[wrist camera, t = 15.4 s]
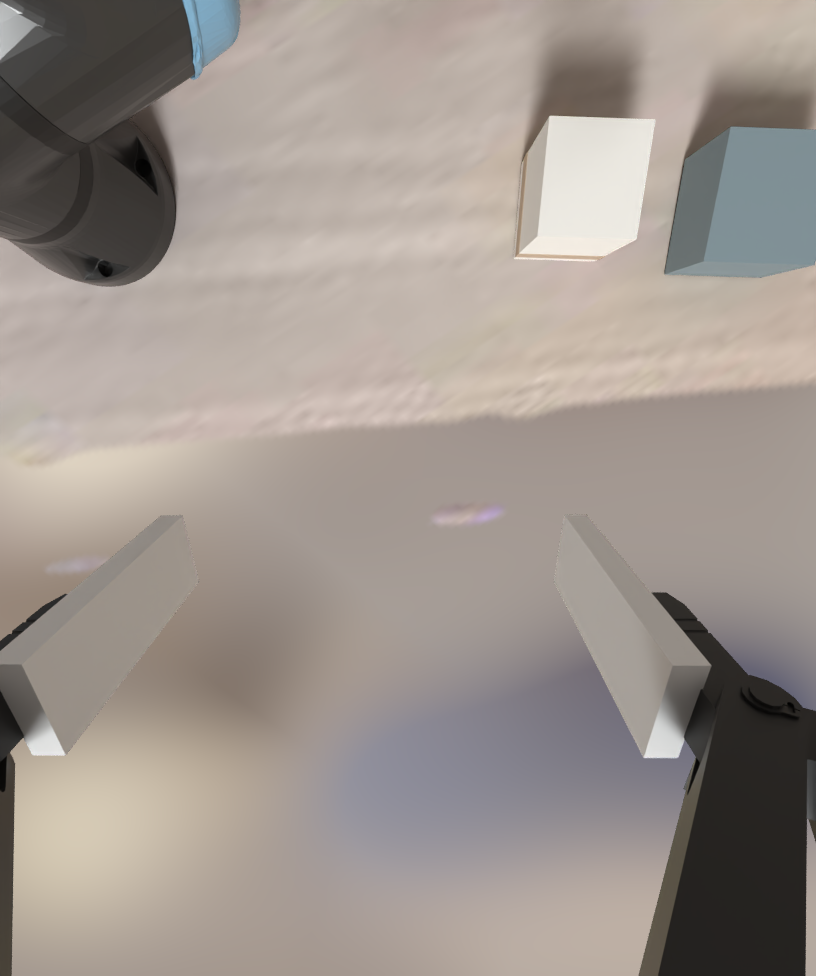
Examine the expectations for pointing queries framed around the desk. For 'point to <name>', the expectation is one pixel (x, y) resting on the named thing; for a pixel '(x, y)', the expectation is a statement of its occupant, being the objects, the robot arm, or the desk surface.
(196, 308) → the desk surface
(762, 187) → the grey-blue square block
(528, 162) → the carton
